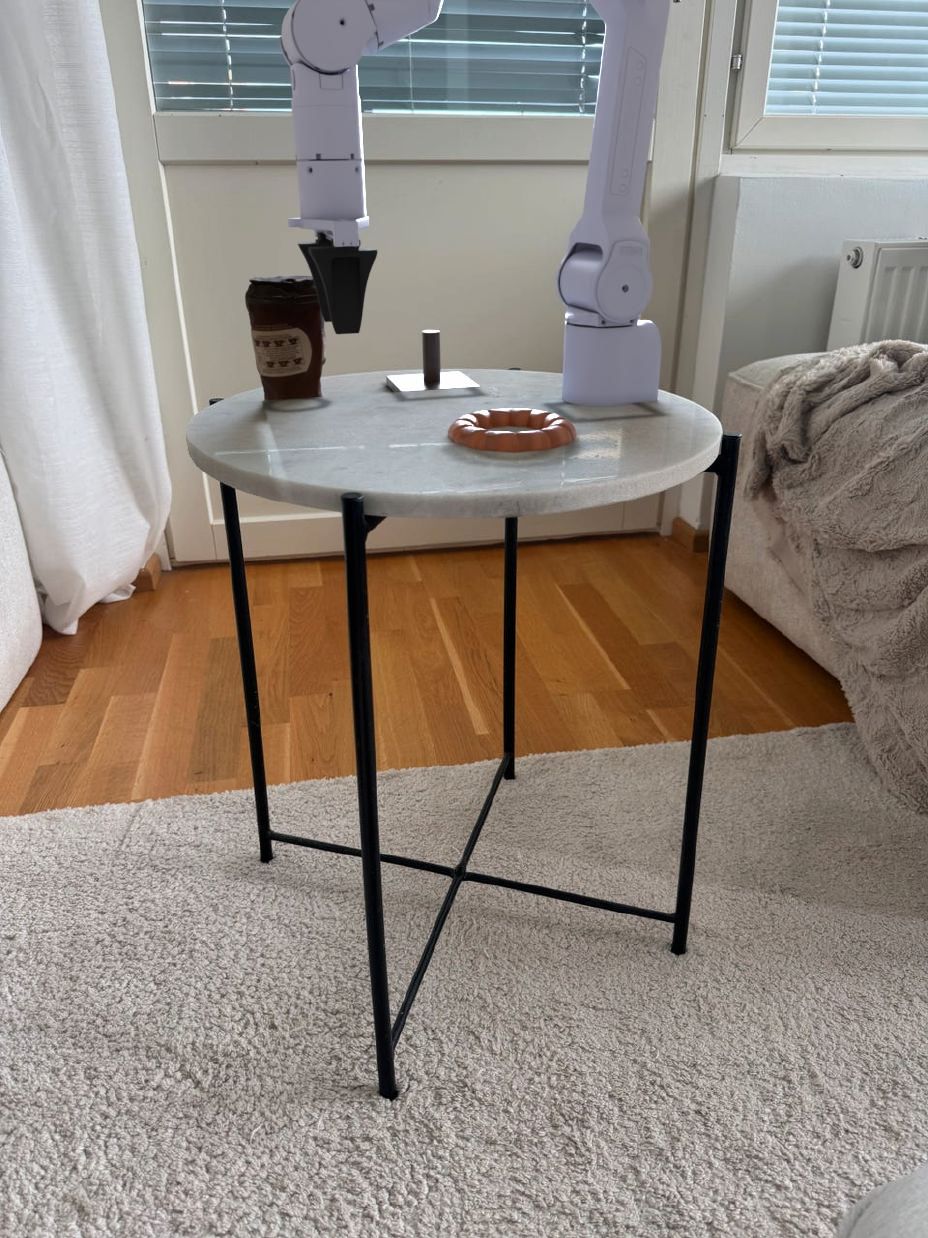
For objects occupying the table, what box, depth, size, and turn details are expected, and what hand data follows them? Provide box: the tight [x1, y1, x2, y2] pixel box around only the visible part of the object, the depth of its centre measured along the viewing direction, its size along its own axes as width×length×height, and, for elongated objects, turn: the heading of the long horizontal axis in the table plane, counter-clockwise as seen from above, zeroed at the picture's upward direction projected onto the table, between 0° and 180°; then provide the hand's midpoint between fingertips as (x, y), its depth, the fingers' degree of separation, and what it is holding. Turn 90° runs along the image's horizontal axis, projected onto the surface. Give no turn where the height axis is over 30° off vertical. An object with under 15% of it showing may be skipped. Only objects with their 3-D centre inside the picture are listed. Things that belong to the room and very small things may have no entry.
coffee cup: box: [244, 275, 327, 402], centre depth 96 cm, size 9×8×13 cm
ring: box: [447, 407, 577, 454], centre depth 82 cm, size 11×11×3 cm
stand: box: [385, 329, 481, 393], centre depth 104 cm, size 9×9×6 cm
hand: (341, 326), depth 84 cm, fingers open, 7 cm apart
